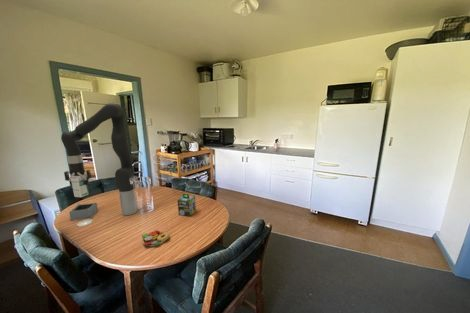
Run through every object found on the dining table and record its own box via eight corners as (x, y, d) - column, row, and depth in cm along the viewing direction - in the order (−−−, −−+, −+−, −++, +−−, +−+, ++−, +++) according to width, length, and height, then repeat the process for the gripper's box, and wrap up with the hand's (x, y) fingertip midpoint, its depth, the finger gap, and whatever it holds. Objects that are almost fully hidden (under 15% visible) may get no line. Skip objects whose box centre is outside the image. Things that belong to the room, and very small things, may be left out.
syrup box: (81, 197, 127) (77, 176, 124) (74, 196, 128) (70, 176, 126) (89, 194, 133) (85, 174, 130) (82, 193, 134) (78, 173, 131)
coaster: (94, 219, 128) (94, 218, 128) (89, 225, 121) (89, 224, 121) (80, 220, 126) (80, 220, 126) (74, 227, 119) (74, 226, 119)
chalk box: (196, 210, 139) (195, 191, 136) (190, 216, 130) (188, 196, 127) (184, 209, 142) (183, 190, 139) (178, 215, 133) (176, 195, 130)
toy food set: (172, 240, 106) (172, 234, 106) (148, 252, 97) (148, 246, 96) (160, 230, 115) (160, 225, 114) (137, 241, 105) (137, 235, 105)
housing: (97, 210, 140) (96, 202, 139) (90, 218, 130) (89, 209, 128) (79, 212, 137) (77, 204, 136) (70, 220, 127) (69, 211, 125)
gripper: (90, 160, 131) (94, 182, 135) (66, 161, 128) (70, 184, 131) (85, 162, 124) (89, 186, 127) (59, 163, 121) (64, 188, 124)
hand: (79, 185), depth 129 cm, fingers closed on syrup box, 7 cm apart
